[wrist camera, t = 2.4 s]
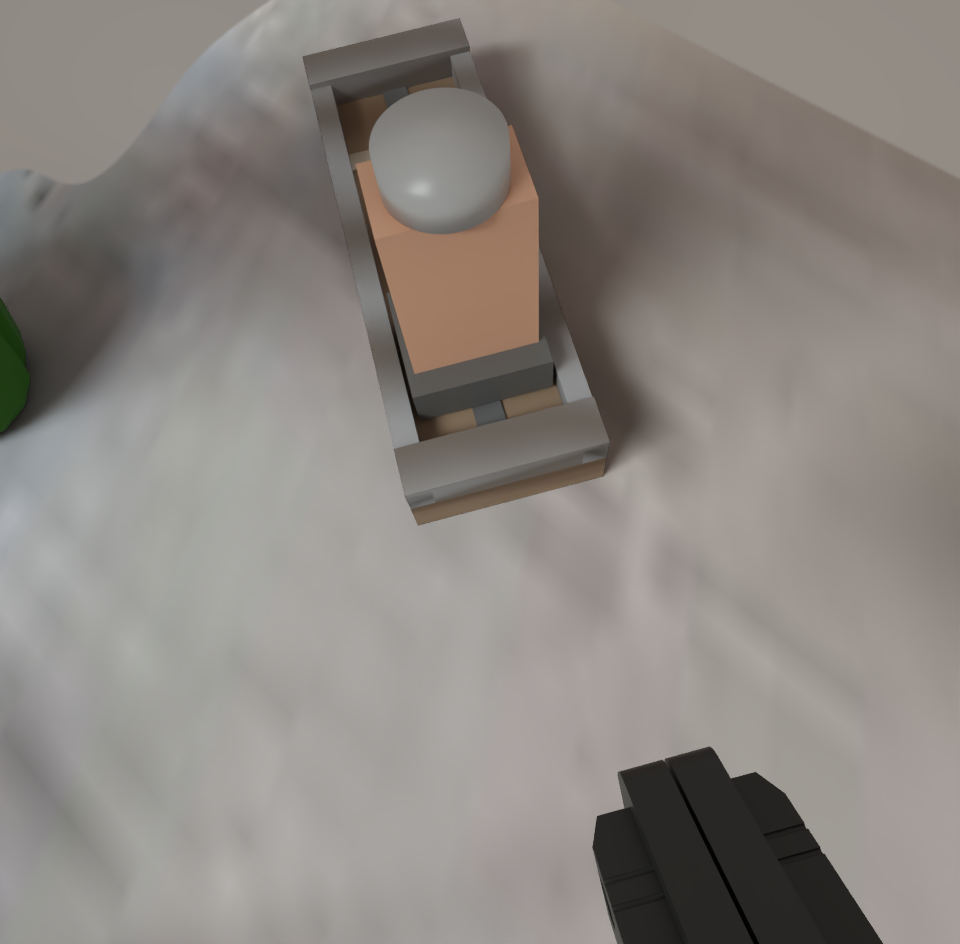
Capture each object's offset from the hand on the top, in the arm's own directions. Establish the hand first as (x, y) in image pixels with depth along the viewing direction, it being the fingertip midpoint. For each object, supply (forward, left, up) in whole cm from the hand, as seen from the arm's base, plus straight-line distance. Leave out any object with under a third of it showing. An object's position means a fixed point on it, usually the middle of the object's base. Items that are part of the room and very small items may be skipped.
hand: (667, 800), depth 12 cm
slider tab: (-12, +13, -15) cm, 23 cm away
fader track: (-17, +17, -17) cm, 29 cm away
